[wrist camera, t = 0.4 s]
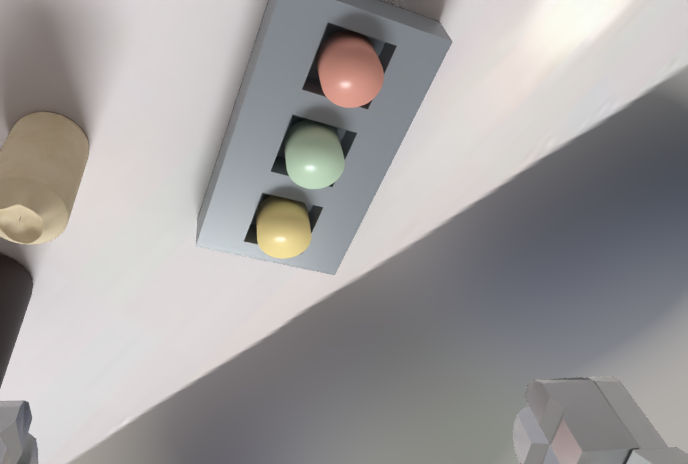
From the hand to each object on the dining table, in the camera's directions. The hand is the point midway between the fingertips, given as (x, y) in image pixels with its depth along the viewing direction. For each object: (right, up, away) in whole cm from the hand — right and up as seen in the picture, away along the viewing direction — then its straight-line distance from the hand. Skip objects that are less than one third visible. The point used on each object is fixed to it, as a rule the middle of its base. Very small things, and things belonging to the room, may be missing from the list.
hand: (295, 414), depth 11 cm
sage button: (-2, +10, +39) cm, 40 cm away
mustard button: (-4, +4, +42) cm, 43 cm away
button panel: (-2, +11, +40) cm, 42 cm away
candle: (-21, +10, +38) cm, 45 cm away
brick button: (+1, +15, +35) cm, 38 cm away
